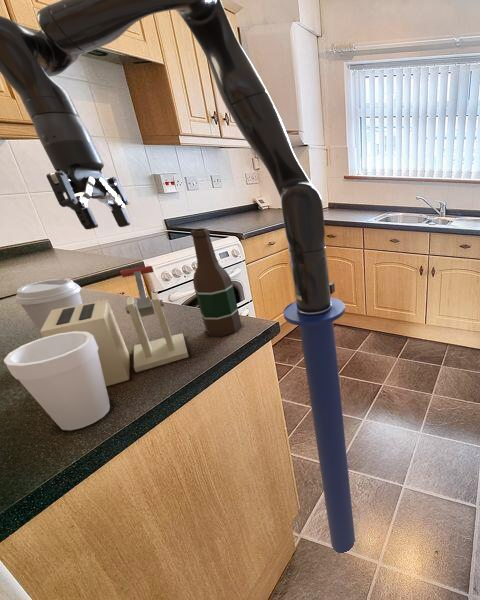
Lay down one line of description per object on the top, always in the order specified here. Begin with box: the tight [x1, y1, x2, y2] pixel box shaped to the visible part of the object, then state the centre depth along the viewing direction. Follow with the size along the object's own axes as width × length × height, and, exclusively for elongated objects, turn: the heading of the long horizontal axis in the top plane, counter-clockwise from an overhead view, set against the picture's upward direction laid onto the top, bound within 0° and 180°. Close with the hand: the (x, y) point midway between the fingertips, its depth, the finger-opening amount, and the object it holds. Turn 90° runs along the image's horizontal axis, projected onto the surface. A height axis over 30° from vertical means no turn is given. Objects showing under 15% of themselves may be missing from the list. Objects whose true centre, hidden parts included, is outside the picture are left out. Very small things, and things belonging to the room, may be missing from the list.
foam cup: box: [3, 331, 111, 431], centre depth 52 cm, size 10×9×13 cm
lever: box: [120, 265, 156, 317], centre depth 69 cm, size 13×6×2 cm, turn 37°
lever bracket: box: [124, 291, 190, 373], centre depth 69 cm, size 10×9×13 cm
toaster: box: [39, 299, 131, 387], centre depth 62 cm, size 10×8×13 cm
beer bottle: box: [190, 227, 242, 337], centre depth 76 cm, size 8×8×24 cm
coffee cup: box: [14, 277, 84, 335], centre depth 70 cm, size 10×10×15 cm
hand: (109, 227), depth 69 cm, fingers open, 8 cm apart
